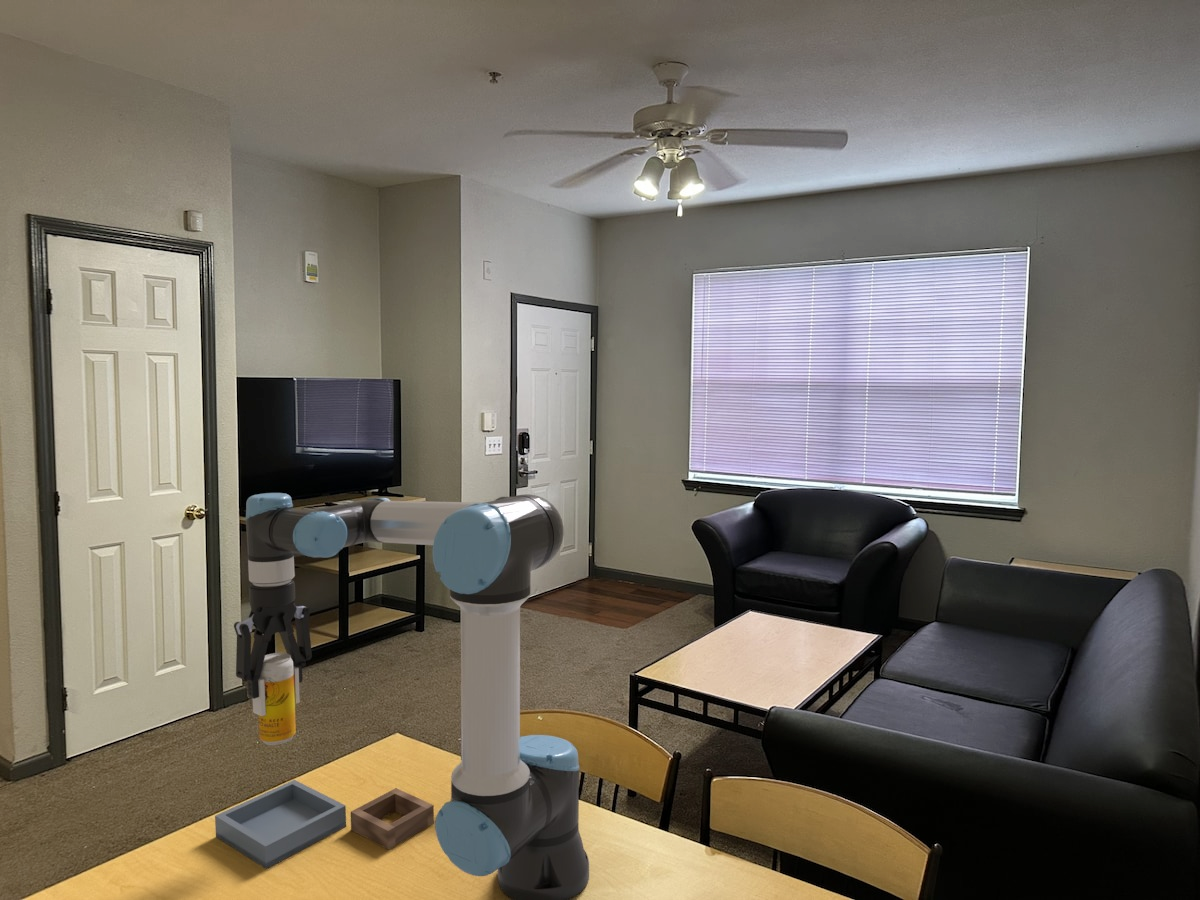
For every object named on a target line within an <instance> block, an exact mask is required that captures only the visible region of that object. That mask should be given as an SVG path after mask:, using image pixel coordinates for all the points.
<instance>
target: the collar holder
mask: <svg viewBox="0 0 1200 900" xmlns="http://www.w3.org/2000/svg"><path fill="white" fill-rule="evenodd" d="M434 807H435V806H434V804H432V803H430V802H428V801H426V800H424V799H421V798H419V797H416V796H415V795H412V794H410V793H407V792H406V791H403V790H401V789H399V788H397V787H396V788H394V789H391V790H389V791H388V792H386V793H384V794H382V795H380V796H378V797H376V798H374V799H372V800H371V801H368V802H367V803H365V804H362V805H361V806H359V807H356V808H355V809H353V810H352V811H350V830H351V831H352V832H354V833H356V834H358V835H360V836H362V837H364V838H365V839H367V840H370V841H371V842H372V843H374V844H376V845H379V846H380V847H382V848H384V849H386V850H388V851H389V850H391V849H393V848H394V847H396V846H397V845H400V844H401V843H402V842H403V843H404V841H406V840H408V839H409V838H412V837H413V836H415V835H417V834H418V833H420V832H421V831H423V830H425V829H427V828H428V827H430V826H431V825H434V824H435V817H434V816H435V815H434V814H435V813H434ZM394 812H396V813H398V814H399V815H403V816H402V817H400V818H398V819H397V820H395V821H393V822H391V823H388V822H386V821H383V820H382V819H384V818H385V817H388V816H390V815H392V814H393V813H394Z"/></svg>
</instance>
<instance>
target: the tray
mask: <svg viewBox="0 0 1200 900" xmlns="http://www.w3.org/2000/svg"><path fill="white" fill-rule="evenodd" d="M346 808H347V806H346V805H345V804H343V803H341V802H340V801H338V800H335V799H334V798H331V797H329V796H328V795H325V794H323V793H322V792H320V791H318V790H316V789H313V788H312V787H310V786H307V785H305V784H303V783H301V782H299V781H298V780H295V779H293V780H291V781H288V782H286V783H284V784H282V785H280V786H278V787H275V788H273V789H271V790H269V791H267V792H264V793H262V794H260V795H258V796H255V797H252V798H251V799H249V800H246V801H245V802H242V803H240V804H238V805H236V806H233V807H232V808H229V809H226V810H225V811H222V812H220V813H218V814H216V815H214V823H215V824H214V825H215V837H216V838H217V839H218V840H220V841H222V842H223V843H225V844H226V845H228V847H229V846H230V848H232V849H235V851H237V852H239V853H241V854H242V855H244V856H246V857H247V858H248V859H250V860H252V862H255V863H256V864H258V865H259V866H261V867H263V868H264V869H266V870H268V869H269V868H271V867H273V866H274V865H277V864H278V863H280V862H282V861H284V860H286V859H288V858H290V857H291V856H293V855H296V854H297V853H299V852H301V851H303V850H304V849H306V848H308V847H310V846H312V845H314V844H316V843H318V842H319V841H322V840H323V839H325V838H327V837H329V836H331V835H332V834H334V833H337V832H338V831H340V830H342V829H343V828H345V827H347V812H346V811H347V809H346Z"/></svg>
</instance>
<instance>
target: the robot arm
mask: <svg viewBox="0 0 1200 900" xmlns="http://www.w3.org/2000/svg"><path fill="white" fill-rule="evenodd" d="M245 502H246V505H245V506H246V507H245V508H246V510H245V519H244V520H245V529H246V530H245V531H246V543H247V544H246V546H247V563H248V564H247V565H248V566H247V567H248V581H249V582H250V584H249V585H248V593H249V594H248V595H249V596H248V597H249V605H250V613H249V615H248V618H246V619H244V620H243V621H235V622H234V624H233V628H234V629H233V630H234V632H235V634H236V652H235V653H236V659H235V660H236V662H235V664H236V665H235V677H236V678H239V679H241V680H243V681H247V694H248V697H250V698H252V712H253V714H255V715H258V716H259V715H260V716H264V715H266V709H265V684H264V679H263V678H260V675H261V671H262V667H263V662H264V658H265V655H267V654H266V653H267V650H268V646H269V642H271V640H272V636H274V635H275V634H276V633H279V635H280V638H281V641H282V644H283V646H284V649H285V653H287V654H289V655H290V656H291V659H292V660H293V669H294V696H295V705H297V704H299V703H301V698H300V697H301V696H300V684H301V683H302V681H303V668H304V667H306V664H307V662H306V661H310V660H311V659H312V658H313V653H312V641H311V632H310V619H309V618H310V615H311V608H310V607H308V606H304V605H298V606H297V605H296V603H295V600H296V583H295V581H294V578H295V576H296V573H295V558H294V557H295V556H294V554H297V555H302V556H307V557H311V558H315V559H318V558H327V559H328V558H331V557H334V556H336V555H337V554H339V552H340V551H341V550H343V548H346V547H350V546H351V547H352V546H353V545H359V544H362V543H382V544H383V543H385V544H386V543H387V544H404V545H405V544H406V545H421V546H423V545H425V546H432V561H433V566H434V570H435V572H436V573H437V574H439V575H440V577H439V580H440V581H441V582H442V584H443V585H444V586H445V587H446V588H447V589H449V597H450V599H451V600H452V601H453V602H454V604H456V605H457V606H458V607H459V608H460V683H461V684H460V703H461V704H460V706H461V707H460V710H461V711H460V712H461V715H460V717H461V721H460V722H461V725H460V726H461V729H460V731H461V733H460V734H461V735H460V736H461V744H460V745H461V756H462V761H460V762H459V764H457V765H456V766H455V768H453V770H452V772H451V776H450V777H451V779H450V781H451V782H450V783H451V785H450V789H451V790H450V795H451V796H450V801H447V802H445V803H444V804H443V805H442V806H441V808H440V809H439V810H438V812H437V815H436V816H435V819H434V825H435V827H434V828H435V829H434V830H435V834H436V835H435V836H436V838H437V841H438V843H439V845H440V848H441V850H442V852H443V853H444V854H445V855H446V857H447V858H448V859H449V861H450V862H451V863H452V864H453V865H454V866H455V867H457V868H458V870H461V871H463V872H464V873H465V874H468V875H471V876H474V877H486V876H489V875H491V874H493V873H494V872H496V871H497V883H498V886H499V888H500V890H501V891H502V892H503V893H504V894H505V895H506V896H507V897H509V898H510V899H512V900H570V899H573V898H575V897H576V896H578V894H580V893H581V892H582V891H583V890H584V889H585V888H586V886H587V885H588V883H589V880H590V861H589V857H588V853H587V852H586V850H585V848H584V843H583V840H582V836H581V834H580V829H579V815H580V814H579V804H580V803H579V802H580V801H579V798H580V797H579V795H580V793H579V790H580V782H579V781H580V769H581V767H580V765H579V764H580V763H579V753H578V750H577V748H576V746H574V744H573V743H572V742H570V741H569V740H567V739H564V738H561V737H558V736H554V735H548V734H530V735H524V736H523V735H522V736H521V734H520V733H521V722H520V721H521V718H520V717H521V606H522V605H523V604H524V603H525V602H526V601H527V600H528V599H529V598H531V597H530V596H531V584H532V583H531V575H532V574H531V572H532V571H536V570H537V569H540V568H542V567H543V566H546V565H547V564H549V563H550V562H551V561H552V560H553V559H554V558H555V557H556V555H557V554H558V552H559V551H560V549H561V547H562V544H563V540H564V533H565V530H564V523H563V520H562V517H561V514H560V513H559V510H558V509H557V508H556V507H555V506H554V505H553V504H552V503H551V502H550V501H549V500H548V499H545V498H544V497H541V496H539V495H535V494H528V493H526V494H517V495H514V496H499V497H497V498H494V500H490V501H486V502H476V501H475V502H473V501H472V502H471V501H462V502H461V501H425V500H424V501H423V500H422V501H419V500H418V501H417V500H414V501H413V500H390V499H389V498H387V497H371V498H366V499H365V500H360V501H354V502H349V503H342V504H338V505H331V506H326V507H321V508H313V509H299V508H294V504H293V500H292V497H291V495H289V494H287V493H283V492H265V493H259V494H254V495H251V496H249V497H248V498H247V500H246V501H245ZM293 618H294V623H295V631H294V628H293V624H292V621H293ZM252 626H254V632H253V628H252ZM252 632H253V644H252ZM294 632H296V634H294ZM295 635H296V636H295ZM251 647H252V648H251Z"/></svg>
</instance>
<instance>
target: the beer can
mask: <svg viewBox="0 0 1200 900" xmlns="http://www.w3.org/2000/svg"><path fill="white" fill-rule="evenodd" d="M260 678H263V679H264V684H265V709H266V715H264V716H260V715H258V731H259V732H258V734H259V740H261V741H262V743H263V744H265V745H268V746H277V745H281V744H283V745H284V744H286V743H288V742H290V741H291V740H292V739H293V738H294V736H295V735H296V732H297V731H296V729H297V726H296V704H295V696H294V669H293V660H292V659H291V656H290V655H289V654H287V652H273V653H269V654H268V653H267V654H265V658H264V662H263V667H262V671H261V675H260Z"/></svg>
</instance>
